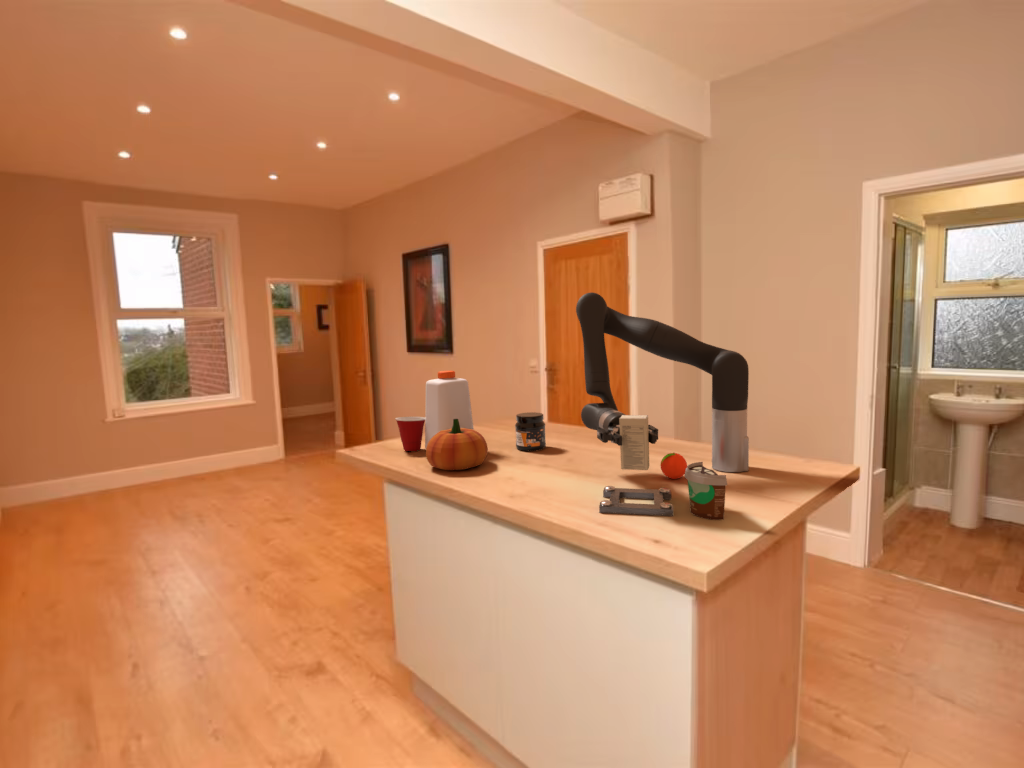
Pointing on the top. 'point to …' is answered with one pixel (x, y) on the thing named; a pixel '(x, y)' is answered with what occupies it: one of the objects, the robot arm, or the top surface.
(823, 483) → the top surface
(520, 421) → the supplement container
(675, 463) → the clementine
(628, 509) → the grey rectangular frame
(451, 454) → the pumpkin
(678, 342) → the robot arm
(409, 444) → the plastic cup
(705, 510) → the food container
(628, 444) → the skincare box
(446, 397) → the plastic bottle
